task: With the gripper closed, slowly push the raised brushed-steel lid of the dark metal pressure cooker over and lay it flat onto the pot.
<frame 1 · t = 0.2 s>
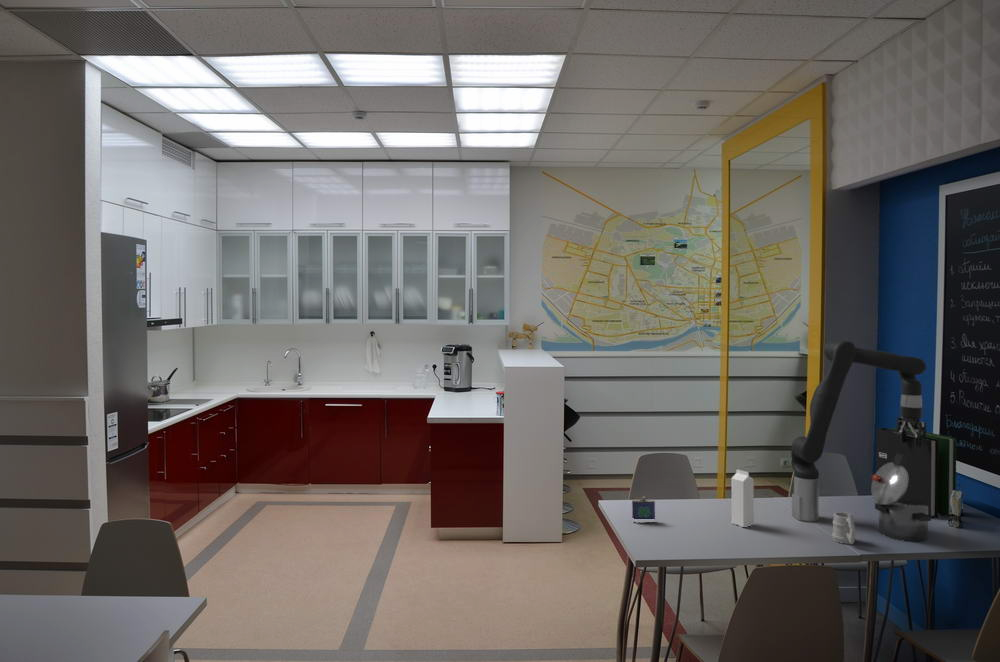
hand: (910, 444, 272), 29 cm above the table, tool pointing down, fingers open, 8 cm apart
milk: (742, 525, 264), on the table
binder: (914, 508, 282), on the table
lid: (889, 478, 249), point 22 cm above the table, hinge at 65.0°
mug: (846, 543, 243), on the table
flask: (643, 522, 270), on the table
pot: (902, 534, 250), on the table
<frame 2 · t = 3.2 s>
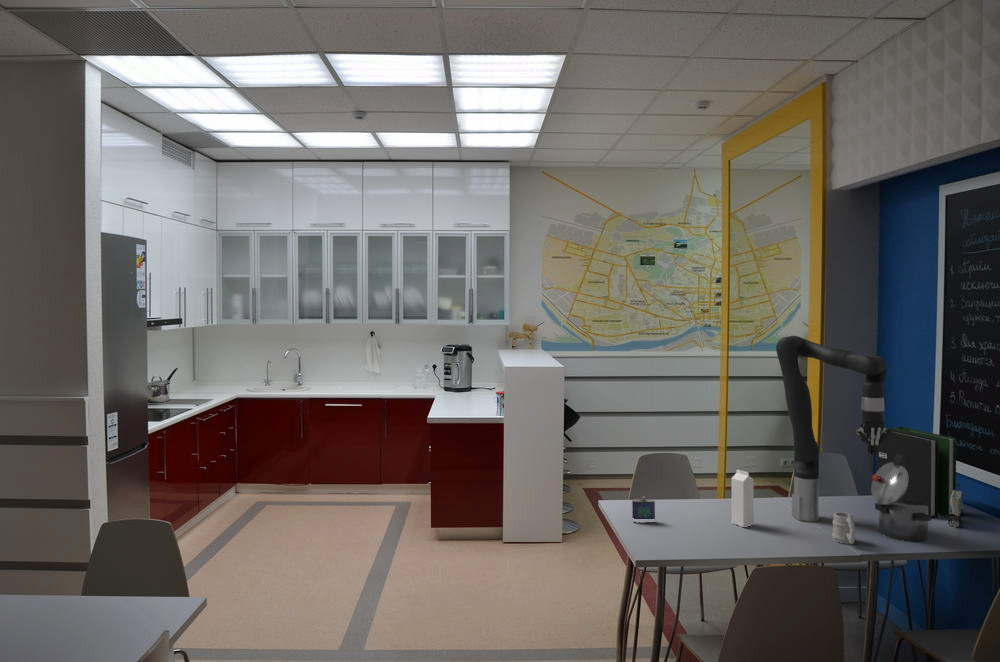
hand: (872, 454, 248), 31 cm above the table, tool pointing down, fingers closed
nothing on the table moved.
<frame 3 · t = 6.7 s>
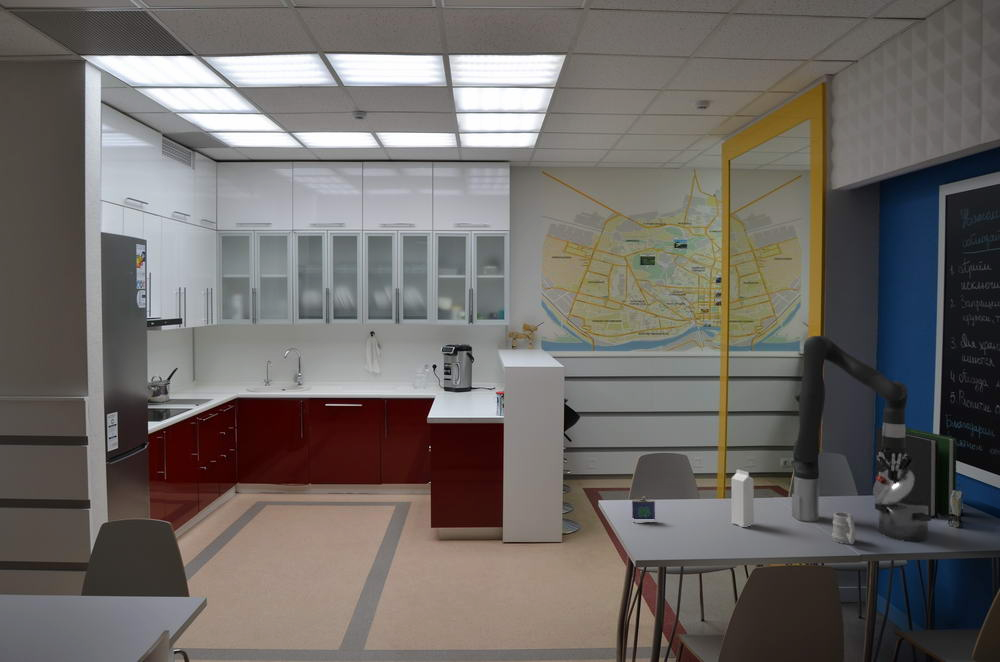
hand: (892, 480, 249), 21 cm above the table, tool pointing down, fingers closed
lid: (893, 480, 249), point 21 cm above the table, hinge at 53.2°, touching gripper
everything else where it was.
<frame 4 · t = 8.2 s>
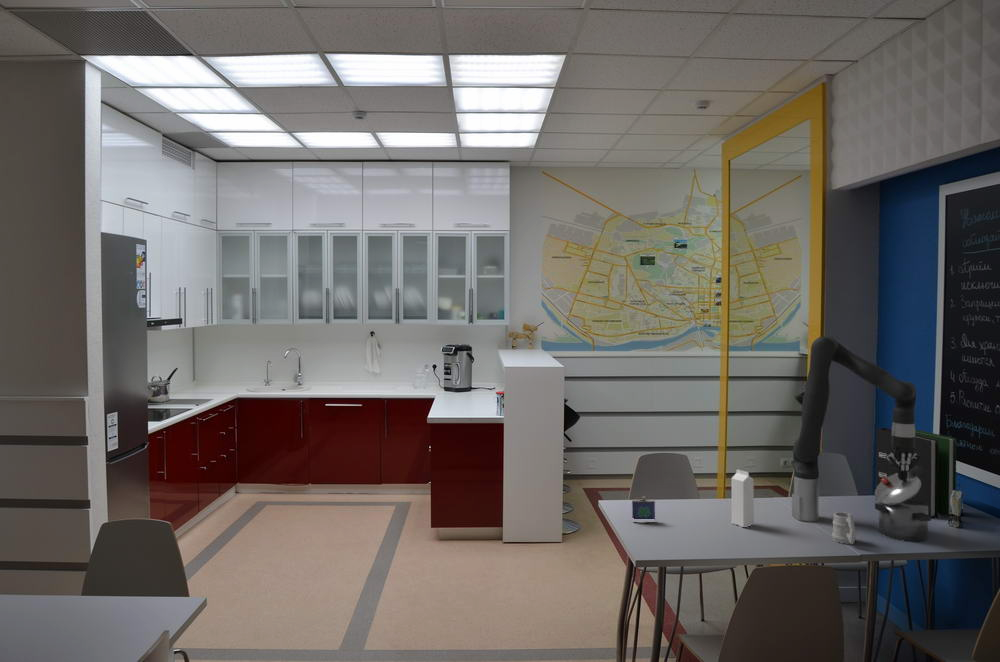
hand: (902, 479, 249), 21 cm above the table, tool pointing down, fingers closed
lid: (899, 483, 249), point 20 cm above the table, hinge at 38.6°, touching gripper
everything else where it was.
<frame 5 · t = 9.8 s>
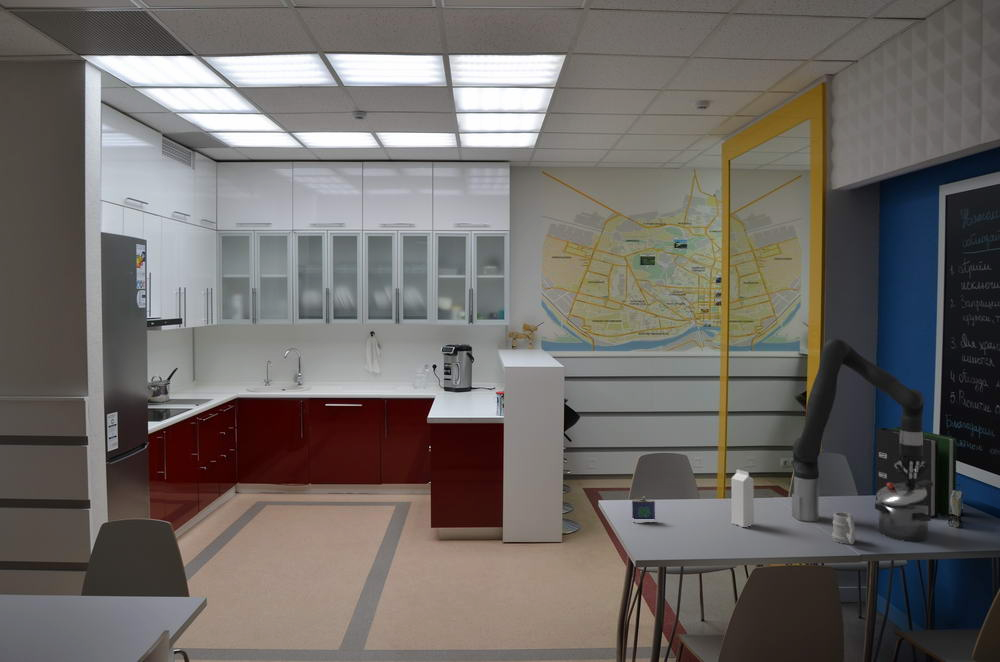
hand: (910, 487, 250), 18 cm above the table, tool pointing down, fingers closed
lid: (904, 490, 250), point 17 cm above the table, hinge at 18.9°, touching gripper
everything else where it was.
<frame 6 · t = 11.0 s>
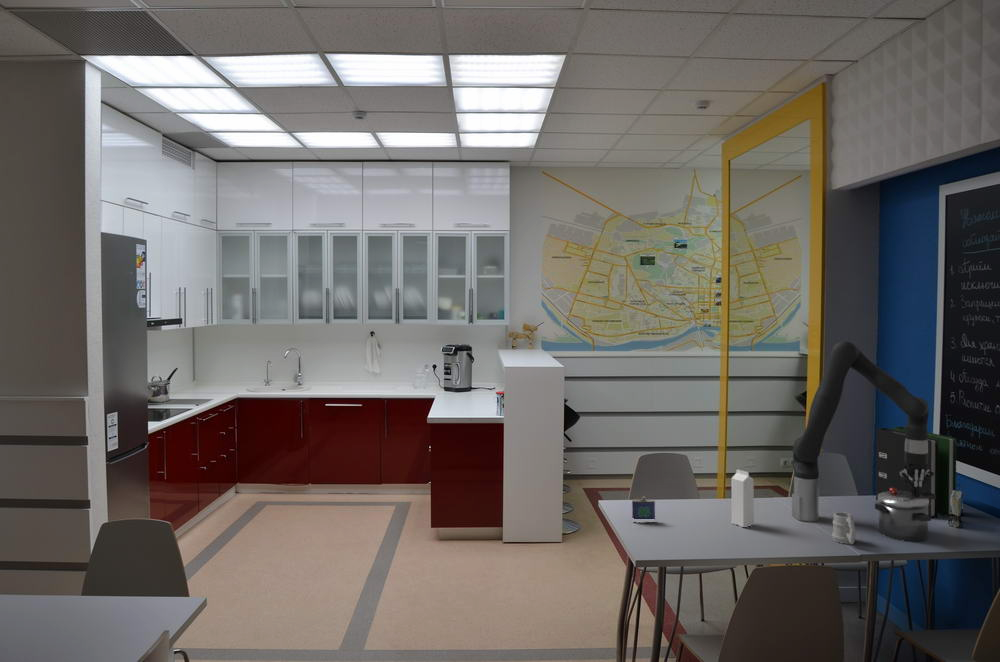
hand: (915, 495, 250), 15 cm above the table, tool pointing down, fingers closed
lid: (907, 496, 250), point 15 cm above the table, hinge at 3.7°, touching gripper
everything else where it was.
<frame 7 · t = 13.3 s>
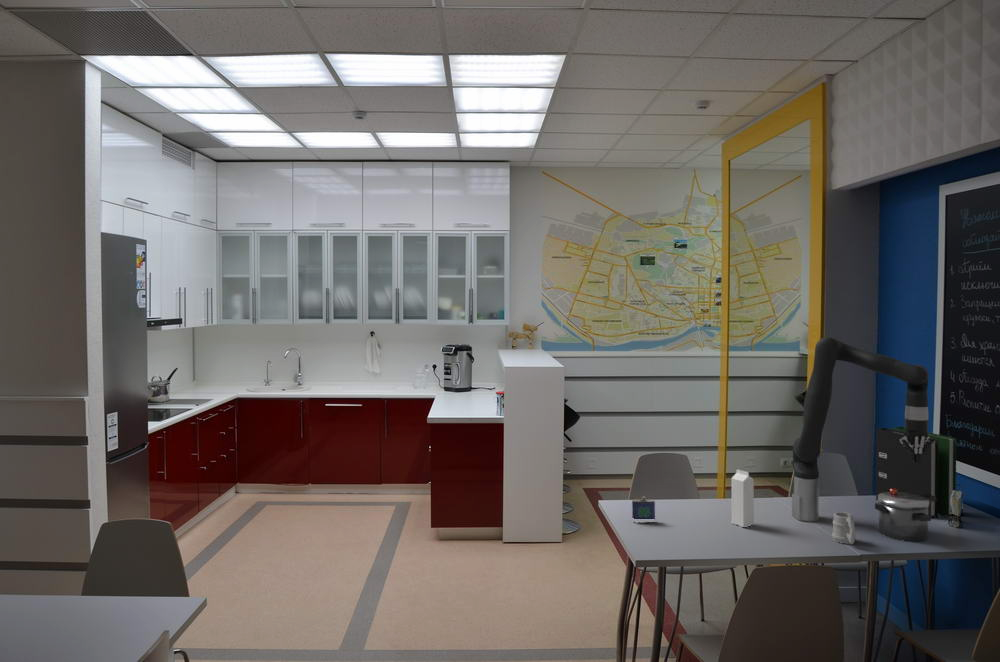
hand: (915, 463, 250), 27 cm above the table, tool pointing down, fingers closed
lid: (907, 497, 250), point 14 cm above the table, hinge at 1.2°
everything else where it was.
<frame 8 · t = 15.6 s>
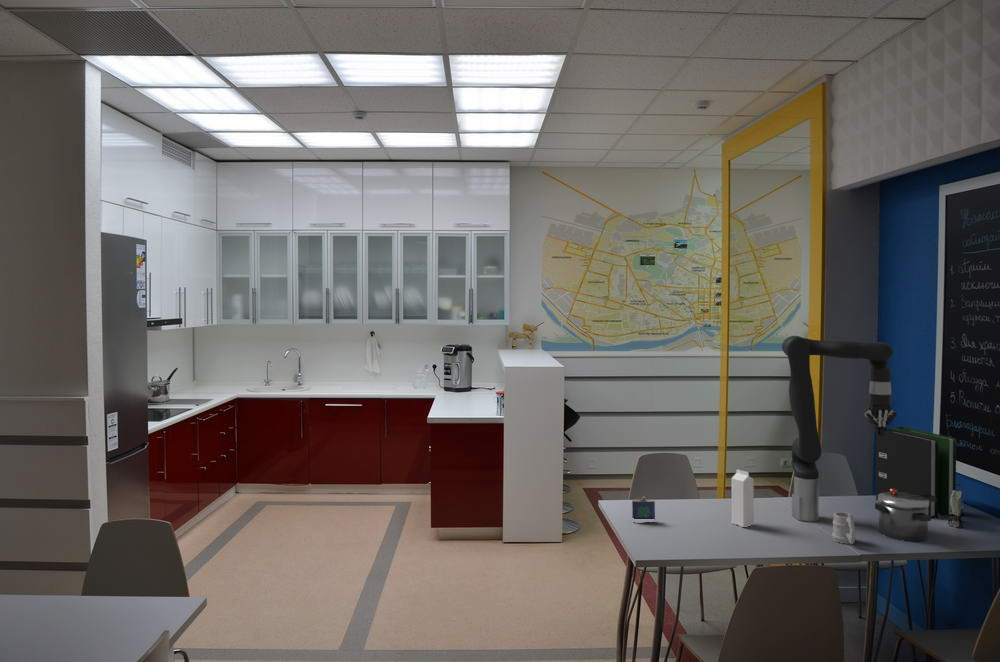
hand: (879, 435, 263), 35 cm above the table, tool pointing down, fingers closed
nothing on the table moved.
at the end: lid at +1° (first picture: +65°); mug moved 0.2 cm from its start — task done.
